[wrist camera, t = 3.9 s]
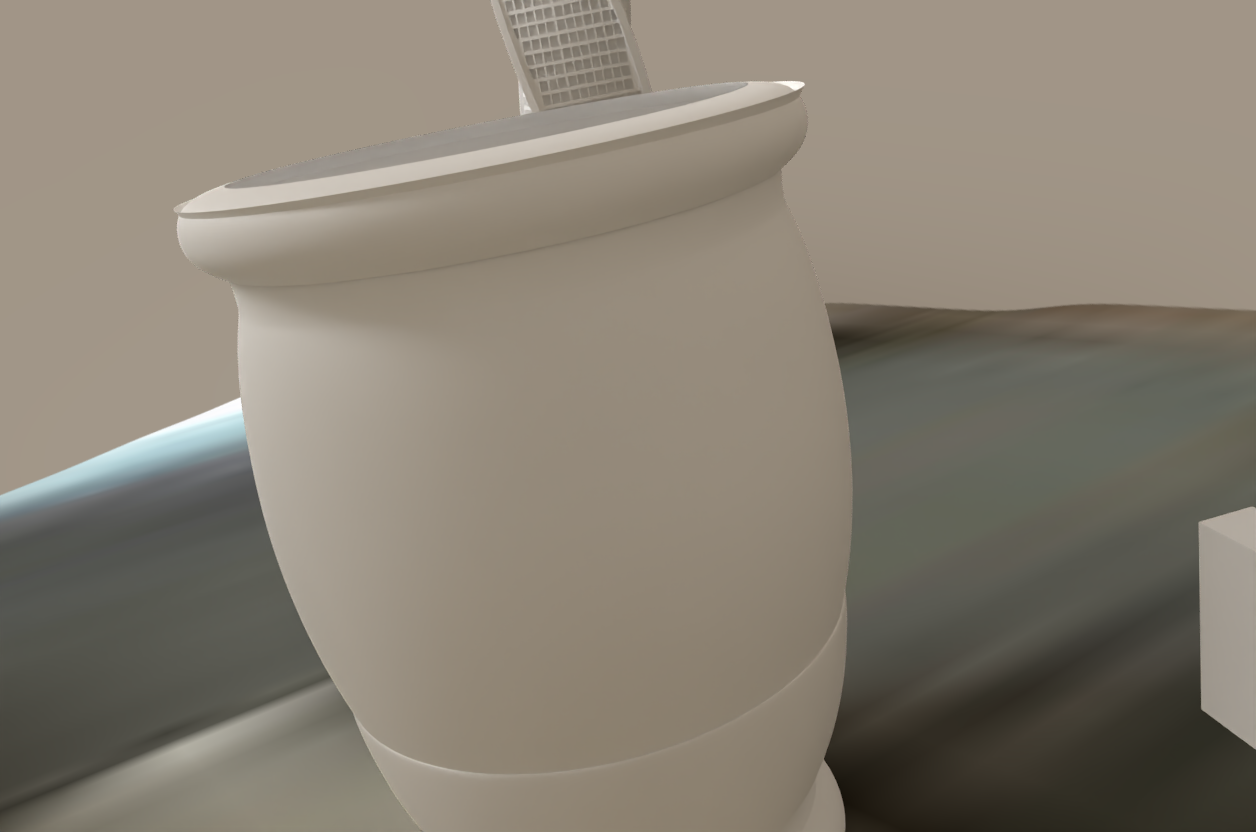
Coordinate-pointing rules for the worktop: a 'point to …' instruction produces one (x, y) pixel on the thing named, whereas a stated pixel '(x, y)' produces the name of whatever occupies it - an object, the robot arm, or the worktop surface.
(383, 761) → the jar
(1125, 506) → the worktop surface
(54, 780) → the worktop surface
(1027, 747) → the worktop surface
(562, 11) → the skyscraper
